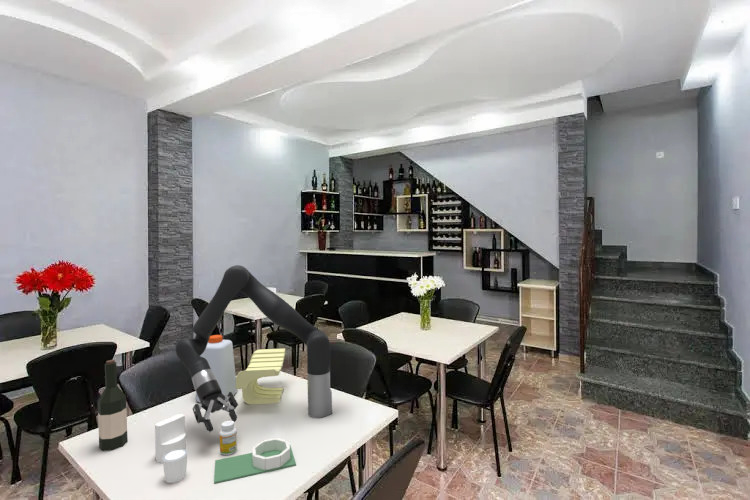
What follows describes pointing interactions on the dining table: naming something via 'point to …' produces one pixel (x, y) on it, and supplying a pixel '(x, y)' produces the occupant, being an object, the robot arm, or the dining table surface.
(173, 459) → the white tapered cup
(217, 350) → the plastic bottle
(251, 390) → the slatted curved stool
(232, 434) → the supplement bottle
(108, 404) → the wine bottle
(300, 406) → the dining table surface
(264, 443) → the green board with ring
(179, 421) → the cylinder with rectangular tab
